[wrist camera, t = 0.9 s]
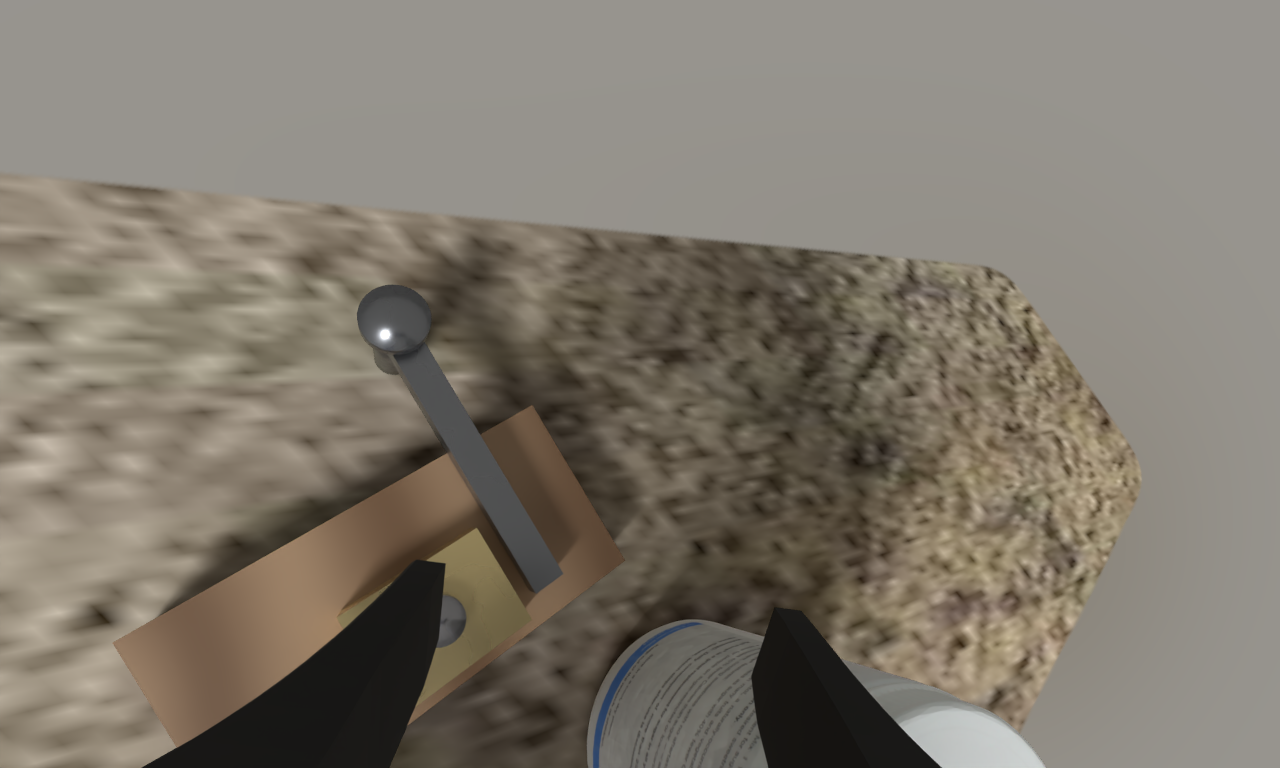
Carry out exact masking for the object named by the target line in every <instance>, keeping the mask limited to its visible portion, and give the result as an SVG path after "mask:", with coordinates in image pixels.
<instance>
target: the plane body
mask: <svg viewBox="0 0 1280 768" xmlns="http://www.w3.org/2000/svg"><path fill="white" fill-rule="evenodd" d="M480 435H481V437H482V439H483V440H484V442H485V444H486V445H487V447H488V449H489V450H490V452H491V454H492V455H493V457H494V459H495V460H496V462H497V464H498V465H499V467H500V469H501V470H502V472H503V474H504V475H505V477H506V479H507V480H508V482H509V484H510V485H511V487H512V489H513V490H514V492H515V494H516V495H517V497H518V499H519V500H520V502H521V504H522V505H523V507H524V509H525V510H526V512H527V514H528V515H529V517H530V519H531V520H532V522H533V524H534V525H535V527H536V529H537V530H538V532H539V534H540V535H541V537H542V539H543V540H544V542H545V544H546V545H547V547H548V549H549V550H550V552H551V554H552V555H553V557H554V559H555V560H556V562H557V564H558V565H559V567H560V569H561V570H562V572H563V575H562V576H560V577H559V578H557V579H556V580H555V581H553V582H552V583H551V584H549V585H548V586H546V587H545V588H544V589H542V590H541V591H540V592H538V593H537V594H535V593H533V592H531V591H529V589H528V587H527V586H526V584H525V582H524V581H523V579H522V577H521V576H520V574H519V572H518V571H517V569H516V567H515V566H514V564H513V562H512V561H511V559H510V557H509V556H508V554H507V552H506V551H505V549H504V547H503V546H502V544H501V542H500V541H499V539H498V538H497V536H496V534H495V533H494V531H493V529H492V528H491V526H490V524H489V523H488V521H487V519H486V518H485V516H484V514H483V513H482V511H481V509H480V508H479V506H478V504H477V503H476V501H475V499H474V498H473V496H472V494H471V493H470V491H469V489H468V488H467V486H466V484H465V483H464V481H463V479H462V478H461V476H460V474H459V473H458V471H457V469H456V468H455V466H454V464H453V463H452V461H451V459H450V458H449V456H448V454H447V453H446V454H445V455H443V456H441V457H439V458H438V459H436V460H434V461H432V462H431V463H429V464H427V465H425V466H424V467H422V468H420V469H418V470H416V471H415V472H413V473H411V474H409V475H408V476H406V477H404V478H402V479H401V480H399V481H397V482H395V483H394V484H392V485H390V486H388V487H386V488H385V489H383V490H381V491H379V492H378V493H376V494H374V495H372V496H371V497H369V498H367V499H365V500H364V501H362V502H360V503H358V504H356V505H355V506H353V507H351V508H349V509H348V510H346V511H344V512H342V513H341V514H339V515H337V516H335V517H334V518H332V519H330V520H328V521H326V522H325V523H323V524H321V525H319V526H318V527H316V528H314V529H312V530H311V531H309V532H307V533H305V534H304V535H302V536H300V537H298V538H296V539H295V540H293V541H291V542H289V543H288V544H286V545H284V546H282V547H281V548H279V549H277V550H275V551H274V552H272V553H270V554H268V555H266V556H265V557H263V558H261V559H259V560H258V561H256V562H254V563H252V564H251V565H249V566H247V567H245V568H244V569H242V570H240V571H238V572H236V573H235V574H233V575H231V576H229V577H228V578H226V579H224V580H222V581H221V582H219V583H217V584H215V585H214V586H212V587H210V588H208V589H206V590H205V591H203V592H201V593H199V594H198V595H196V596H194V597H192V598H191V599H189V600H187V601H185V602H184V603H182V604H180V605H178V606H176V607H175V608H173V609H171V610H169V611H168V612H166V613H164V614H162V615H161V616H159V617H157V618H155V619H154V620H152V621H150V622H148V623H146V624H145V625H143V626H141V627H139V628H138V629H136V630H134V631H132V632H131V633H129V634H127V635H125V636H124V637H122V638H120V639H118V640H116V641H115V642H113V644H114V646H115V648H116V649H117V651H118V653H119V654H120V656H121V657H122V659H123V661H124V662H125V664H126V666H127V667H128V669H129V670H130V672H131V674H132V675H133V677H134V679H135V680H136V682H137V683H138V685H139V687H140V688H141V690H142V692H143V693H144V695H145V696H146V698H147V700H148V701H149V703H150V705H151V706H152V708H153V710H154V711H155V713H156V714H157V716H158V718H159V719H160V721H161V723H162V724H163V726H164V727H165V729H166V731H167V732H168V734H169V736H170V737H171V739H172V740H173V742H174V744H175V745H176V747H179V746H181V745H182V744H184V743H186V742H188V741H190V740H191V739H193V738H195V737H196V736H198V735H200V734H201V733H203V732H204V731H206V730H208V729H209V728H211V727H212V726H214V725H216V724H217V723H219V722H220V721H222V720H223V719H225V718H226V717H228V716H229V715H231V714H232V713H234V712H235V711H237V710H238V709H240V708H241V707H243V706H244V705H246V704H247V703H249V702H250V701H252V700H253V699H255V698H256V697H258V696H259V695H261V694H262V693H263V692H265V691H266V690H268V689H269V688H270V687H272V686H273V685H275V684H276V683H277V682H279V681H280V680H281V679H283V678H284V677H285V676H287V675H288V674H289V673H291V672H292V671H293V670H295V669H296V668H297V667H298V666H300V665H301V664H302V663H304V662H305V661H306V660H307V659H309V658H310V657H311V656H312V655H313V654H315V653H316V652H317V651H318V650H319V649H321V648H322V647H323V646H324V645H325V644H326V643H328V642H329V641H330V640H331V639H332V638H334V637H335V636H336V635H337V634H338V633H340V632H341V631H342V630H343V628H342V626H341V624H340V623H339V621H338V619H337V616H338V614H339V613H340V611H341V610H342V609H343V608H345V607H347V606H348V605H350V604H351V603H353V602H354V601H356V600H358V599H359V598H361V597H362V596H364V595H365V594H367V593H369V592H370V591H372V590H373V589H375V588H376V587H378V586H380V585H381V584H383V583H384V582H386V581H387V580H389V579H391V578H392V577H394V576H395V575H397V574H398V573H400V572H402V571H403V570H405V569H406V568H407V567H408V565H409V564H410V563H412V562H413V561H415V560H416V559H417V560H420V559H422V558H424V557H425V556H427V555H428V554H430V553H431V552H433V551H434V550H436V549H438V548H439V547H441V546H442V545H444V544H445V543H447V542H449V541H450V540H452V539H453V538H455V537H456V536H458V535H460V534H461V533H463V532H464V531H466V530H467V529H469V528H471V527H473V528H477V529H478V530H479V532H480V534H481V535H482V537H483V539H484V540H485V542H486V544H487V545H488V547H489V549H490V550H491V552H492V554H493V555H494V557H495V559H496V560H497V562H498V564H499V565H500V567H501V569H502V570H503V572H504V574H505V575H506V577H507V579H508V580H509V582H510V584H511V585H512V587H513V589H514V590H515V592H516V594H517V595H518V597H519V599H520V600H521V602H522V604H523V605H524V607H525V609H526V610H527V612H528V614H529V615H530V617H531V619H532V620H531V621H530V622H528V623H527V624H526V625H524V626H523V627H522V628H520V629H519V630H518V631H516V632H515V633H514V634H512V635H511V636H510V637H508V638H507V639H506V640H504V641H503V642H502V643H500V644H499V645H498V646H496V647H495V648H494V649H492V650H491V651H490V652H488V653H487V654H486V655H484V656H483V657H482V658H480V659H479V660H478V661H476V662H475V663H474V664H472V665H471V666H470V667H468V668H467V669H466V670H464V671H463V672H462V673H460V674H459V675H458V676H456V677H455V678H454V679H452V680H451V681H450V682H448V683H447V684H446V685H444V686H443V687H442V688H440V689H439V690H438V691H436V692H435V693H434V694H432V695H431V696H430V697H428V698H427V699H426V700H424V701H423V702H422V703H420V704H419V705H418V706H416V707H415V709H414V711H413V713H412V716H411V718H410V720H409V723H408V725H409V724H410V723H412V722H413V721H414V720H416V719H417V718H418V717H419V716H421V715H422V714H423V713H425V712H426V711H427V710H429V709H430V708H431V707H433V706H434V705H435V704H437V703H438V702H439V701H441V700H442V699H443V698H445V697H446V696H447V695H448V694H450V693H451V692H452V691H454V690H455V689H456V688H458V687H459V686H460V685H462V684H463V683H464V682H466V681H467V680H468V679H470V678H471V677H472V676H474V675H475V674H476V673H477V672H479V671H480V670H481V669H483V668H484V667H485V666H487V665H488V664H489V663H491V662H492V661H493V660H495V659H496V658H497V657H499V656H500V655H501V654H503V653H504V652H505V651H506V650H508V649H509V648H510V647H512V646H513V645H514V644H516V643H517V642H518V641H520V640H521V639H522V638H524V637H525V636H526V635H528V634H529V633H530V632H532V631H533V630H534V629H535V628H537V627H538V626H539V625H541V624H542V623H543V622H545V621H546V620H547V619H549V618H550V617H551V616H553V615H554V614H555V613H557V612H558V611H559V610H561V609H562V608H563V607H564V606H566V605H567V604H568V603H570V602H571V601H572V600H574V599H575V598H576V597H578V596H579V595H580V594H582V593H583V592H584V591H586V590H587V589H588V588H590V587H591V586H592V585H593V584H595V583H596V582H597V581H599V580H600V579H601V578H603V577H604V576H605V575H607V574H608V573H609V572H611V571H612V570H613V569H615V568H616V567H617V566H619V565H620V564H621V563H622V562H624V561H625V559H624V558H623V556H622V554H621V553H620V551H619V549H618V548H617V546H616V544H615V543H614V541H613V539H612V538H611V536H610V534H609V533H608V531H607V529H606V528H605V526H604V524H603V523H602V521H601V519H600V517H599V516H598V514H597V512H596V511H595V509H594V507H593V506H592V504H591V502H590V501H589V499H588V497H587V496H586V494H585V492H584V491H583V489H582V487H581V486H580V484H579V482H578V481H577V479H576V477H575V476H574V474H573V472H572V471H571V469H570V467H569V466H568V464H567V462H566V461H565V459H564V457H563V456H562V454H561V452H560V451H559V449H558V447H557V446H556V444H555V442H554V441H553V439H552V437H551V436H550V434H549V432H548V431H547V429H546V427H545V425H544V424H543V422H542V420H541V419H540V417H539V415H538V414H537V412H536V410H535V409H534V407H533V405H531V406H529V407H528V408H526V409H524V410H522V411H521V412H519V413H517V414H515V415H514V416H512V417H510V418H508V419H507V420H505V421H503V422H501V423H499V424H498V425H496V426H494V427H492V428H491V429H489V430H487V431H485V432H484V433H482V434H480ZM408 725H407V726H408Z"/></svg>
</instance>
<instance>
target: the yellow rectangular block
mask: <svg viewBox="0 0 1280 768" xmlns="http://www.w3.org/2000/svg"><path fill="white" fill-rule="evenodd" d="M420 560H424V561H432V562H439V563H446V567H445V578H444V588H443V599H442V610H441V621H440V632H439V640H438V643H437V646H436V650H435V653H434V656H433V659H432V663H431V666H430V669H429V672H428V675H427V679H426V682H425V685H424V688H423V690H422V692H421V695H420V697H419V699H418V702H417V704H416V706H418V705H419V704H420V703H422V702H423V701H424V700H426V699H427V698H428V697H430V696H431V695H432V694H434V693H435V692H436V691H438V690H439V689H440V688H442V687H443V686H444V685H446V684H447V683H448V682H450V681H451V680H452V679H454V678H455V677H456V676H458V675H459V674H460V673H462V672H463V671H464V670H466V669H467V668H468V667H470V666H471V665H472V664H474V663H475V662H476V661H478V660H479V659H480V658H482V657H483V656H484V655H486V654H487V653H488V652H490V651H491V650H492V649H494V648H495V647H496V646H498V645H499V644H500V643H502V642H503V641H504V640H506V639H507V638H508V637H510V636H511V635H512V634H514V633H515V632H516V631H518V630H519V629H520V628H522V627H523V626H524V625H526V624H527V623H528V622H530V621H531V620H532V619H531V617H530V615H529V614H528V612H527V610H526V609H525V607H524V605H523V604H522V602H521V600H520V599H519V597H518V595H517V594H516V592H515V590H514V589H513V587H512V585H511V584H510V582H509V580H508V579H507V577H506V575H505V574H504V572H503V570H502V569H501V567H500V565H499V564H498V562H497V560H496V559H495V557H494V555H493V554H492V552H491V550H490V549H489V547H488V545H487V544H486V542H485V540H484V539H483V537H482V535H481V534H480V532H479V530H478V529H477V528H473V527H471V528H469V529H467V530H466V531H464V532H463V533H461V534H460V535H458V536H456V537H455V538H453V539H452V540H450V541H449V542H447V543H445V544H444V545H442V546H441V547H439V548H438V549H436V550H434V551H433V552H431V553H430V554H428V555H427V556H425V557H424V558H422V559H420ZM403 571H404V570H403ZM403 571H402V572H403ZM402 572H400V573H398V574H397V575H395V576H394V577H392V578H391V579H389V580H387V581H386V582H384V583H383V584H381V585H380V586H378V587H376V588H375V589H373V590H372V591H370V592H369V593H367V594H365V595H364V596H362V597H361V598H359V599H358V600H356V601H354V602H353V603H351V604H350V605H348V606H347V607H345V608H343V609H342V610H341V611H340V613H339V614H338V616H337V619H338V621H339V623H340V624H341V626H342V628H343V629H344V628H345V627H346V626H347V625H349V624H350V623H351V622H352V621H353V620H354V619H355V618H356V617H357V616H358V615H359V614H360V613H362V612H363V611H364V610H365V609H366V608H367V607H368V606H369V605H370V604H371V603H372V602H373V601H374V600H375V599H376V598H377V597H378V596H379V595H380V594H381V593H382V592H383V591H384V590H385V589H386V588H387V587H388V586H389V585H390V584H391V583H392V582H393V581H394V580H395V579H396V578H397V577H398V576H399V575H400V574H401V573H402ZM416 706H415V707H416Z"/></svg>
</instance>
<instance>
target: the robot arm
mask: <svg viewBox="0 0 1280 768" xmlns="http://www.w3.org/2000/svg"><path fill="white" fill-rule="evenodd" d="M445 567H446V563H439V562H432V561H424V560H417V559H416V560H415V561H413V562H412V563H410V564H409V565H408V567H407V568H406V569H405V570H404V571H403V572H402V573H401V574H400V575H399V576H398V577H397V578H396V579H395V580H394V581H393V582H392V583H391V584H390V585H389V586H388V587H387V588H386V589H385V590H384V591H383V592H382V593H381V594H380V595H379V596H378V597H377V598H376V599H375V600H374V601H373V602H372V603H371V604H370V605H369V606H368V607H367V608H366V609H365V610H364V611H363V612H362V613H360V614H359V615H358V616H357V617H356V618H355V619H354V620H353V621H352V622H351V623H350V624H349V625H347V626H346V627H345V628H344V629H343V630H342V631H341V632H340V633H338V634H337V635H336V636H335V637H334V638H332V639H331V640H330V641H329V642H328V643H326V644H325V645H324V646H323V647H322V648H321V649H319V650H318V651H317V652H316V653H315V654H313V655H312V656H311V657H310V658H309V659H307V660H306V661H305V662H304V663H302V664H301V665H300V666H298V667H297V668H296V669H295V670H293V671H292V672H291V673H289V674H288V675H287V676H285V677H284V678H283V679H281V680H280V681H279V682H277V683H276V684H275V685H273V686H272V687H270V688H269V689H268V690H266V691H265V692H263V693H262V694H261V695H259V696H258V697H256V698H255V699H253V700H252V701H250V702H249V703H247V704H246V705H244V706H243V707H241V708H240V709H238V710H237V711H235V712H234V713H232V714H231V715H229V716H228V717H226V718H225V719H223V720H222V721H220V722H219V723H217V724H216V725H214V726H212V727H211V728H209V729H208V730H206V731H204V732H203V733H201V734H200V735H198V736H196V737H195V738H193V739H191V740H190V741H188V742H186V743H184V744H182V745H181V746H179V747H177V748H175V749H174V750H172V751H170V752H168V753H167V754H165V755H163V756H161V757H160V758H158V759H156V760H154V761H153V762H151V763H149V764H147V765H146V766H144V767H142V768H389V766H390V764H391V762H392V760H393V757H394V755H395V753H396V750H397V748H398V746H399V743H400V741H401V739H402V737H403V734H404V732H405V730H406V727H407V725H408V723H409V720H410V718H411V716H412V713H413V711H414V709H415V706H416V704H417V702H418V699H419V697H420V695H421V692H422V690H423V688H424V685H425V682H426V679H427V675H428V672H429V669H430V666H431V663H432V659H433V656H434V653H435V650H436V646H437V643H438V640H439V632H440V621H441V610H442V599H443V588H444V578H445ZM751 680H752V688H753V697H754V704H755V711H756V718H757V725H758V729H759V733H760V737H761V741H762V745H763V749H764V753H765V757H766V761H767V765H768V768H942V767H941V766H940V765H939V764H938V763H936V762H935V761H934V760H933V759H932V758H931V757H930V756H929V755H928V754H927V753H926V752H925V751H924V750H923V749H922V748H921V747H920V746H919V745H918V744H917V743H916V742H915V741H914V740H913V739H912V738H911V737H910V736H909V735H908V734H907V733H906V732H905V731H904V730H903V729H902V728H901V727H900V726H899V725H898V724H897V723H896V721H895V720H894V719H893V718H892V717H891V716H890V715H889V714H888V713H887V712H886V711H885V710H884V709H883V708H882V706H881V705H880V704H879V703H878V702H877V701H876V700H875V699H874V697H873V696H872V695H871V694H870V693H869V692H868V691H867V690H866V688H865V687H864V686H863V685H862V684H861V683H860V681H859V680H858V679H857V678H856V677H855V676H854V674H853V673H852V672H851V671H850V670H849V668H848V667H847V666H846V665H845V664H844V662H843V661H842V660H841V659H840V657H839V656H838V655H837V654H836V653H835V651H834V650H833V649H832V648H831V646H830V645H829V644H828V643H827V642H826V640H825V639H824V638H823V637H822V635H821V634H820V633H819V632H818V630H817V629H816V628H815V627H814V626H813V624H812V623H811V622H810V621H809V620H808V618H807V617H806V616H805V615H804V614H803V613H802V611H798V610H791V609H783V608H776V607H775V608H774V611H773V614H772V617H771V620H770V622H769V625H768V628H767V631H766V634H765V637H764V640H763V643H762V646H761V649H760V652H759V654H758V657H757V660H756V663H755V666H754V669H753V672H752V675H751Z"/></svg>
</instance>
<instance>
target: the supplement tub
mask: <svg viewBox="0 0 1280 768" xmlns="http://www.w3.org/2000/svg"><path fill="white" fill-rule="evenodd" d="M763 640H764V636H760V635H757V634H753V633H750V632H746V631H743V630H739V629H736V628H733V627H729V626H726V625H722V624H719V623H716V622H712V621H707V620H697V619H693V620H681V621H676V622H672V623H669V624H666V625H663V626H660V627H658V628H656V629H654V630H652V631H650V632H648V633H646V634H645V635H643V636H642V637H640V638H639V639H637V640H636V641H635V642H634V643H633V644H631V645H630V646H629V647H628V648H627V649H626V650H625V651H624V652H623V653H622V654H621V655H620V656H619V658H618V659H617V660H616V662H615V663H614V664H613V666H612V667H611V669H610V670H609V672H608V673H607V675H606V677H605V679H604V681H603V683H602V685H601V687H600V689H599V691H598V694H597V696H596V699H595V702H594V705H593V708H592V712H591V716H590V721H589V727H588V735H587V763H588V768H768V765H767V761H766V757H765V753H764V749H763V745H762V741H761V737H760V733H759V729H758V725H757V718H756V711H755V704H754V697H753V688H752V680H751V675H752V672H753V669H754V666H755V663H756V660H757V657H758V654H759V652H760V649H761V646H762V643H763ZM841 660H842V661H843V662H844V664H845V665H846V666H847V667H848V668H849V670H850V671H851V672H852V673H853V674H854V676H855V677H856V678H857V679H858V680H859V681H860V683H861V684H862V685H863V686H864V687H865V688H866V690H867V691H868V692H869V693H870V694H871V695H872V696H873V697H874V699H875V700H876V701H877V702H878V703H879V704H880V705H881V706H882V708H883V709H884V710H885V711H886V712H887V713H888V714H889V715H890V716H891V717H892V718H893V719H894V720H895V721H896V723H897V724H898V725H899V726H900V727H901V728H902V729H903V730H904V731H905V732H906V733H907V734H908V735H909V736H910V737H911V738H912V739H913V740H914V741H915V742H916V743H917V744H918V745H919V746H920V747H921V748H922V749H923V750H924V751H925V752H926V753H927V754H928V755H929V756H930V757H931V758H932V759H933V760H934V761H935V762H936V763H938V764H939V765H940V766H941V767H942V768H1046V766H1045V765H1044V763H1043V762H1042V760H1041V758H1040V757H1039V756H1038V754H1037V753H1036V752H1035V750H1034V749H1033V748H1032V746H1031V745H1030V744H1029V743H1028V742H1027V741H1026V740H1025V739H1024V737H1023V736H1022V735H1021V734H1020V733H1019V732H1018V731H1016V730H1015V729H1014V728H1013V727H1012V726H1011V725H1010V724H1008V723H1007V722H1006V721H1004V720H1003V719H1002V718H1000V717H999V716H997V715H995V714H993V713H992V712H990V711H988V710H986V709H983V708H981V707H979V706H976V705H973V704H971V703H968V702H965V701H962V700H960V699H959V698H957V697H955V696H953V695H952V694H949V693H947V692H945V691H943V690H941V689H938V688H936V687H932V686H928V685H925V684H922V683H920V682H917V681H914V680H910V679H907V678H903V677H900V676H897V675H893V674H890V673H887V672H883V671H880V670H876V669H873V668H870V667H866V666H863V665H860V664H856V663H853V662H850V661H846V660H843V659H841Z"/></svg>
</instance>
